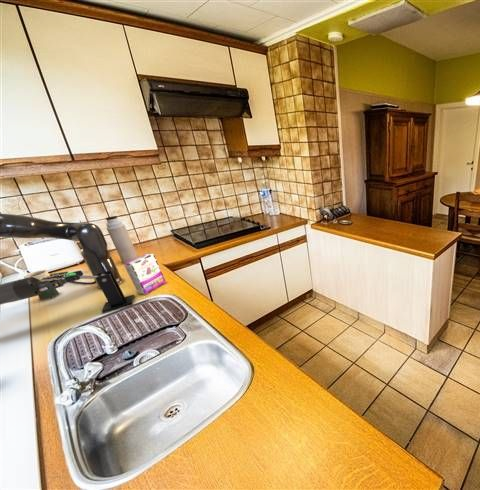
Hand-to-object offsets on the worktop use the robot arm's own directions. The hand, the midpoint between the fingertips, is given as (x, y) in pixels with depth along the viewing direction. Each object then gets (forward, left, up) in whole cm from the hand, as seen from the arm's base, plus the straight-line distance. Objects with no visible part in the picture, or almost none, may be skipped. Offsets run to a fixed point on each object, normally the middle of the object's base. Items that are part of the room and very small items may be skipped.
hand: (80, 274), depth 108 cm
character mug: (-39, -4, -18) cm, 43 cm away
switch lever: (0, +1, -3) cm, 4 cm away
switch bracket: (+3, +6, -18) cm, 19 cm away
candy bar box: (+2, +20, -18) cm, 27 cm away
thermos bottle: (-49, +34, -18) cm, 62 cm away
